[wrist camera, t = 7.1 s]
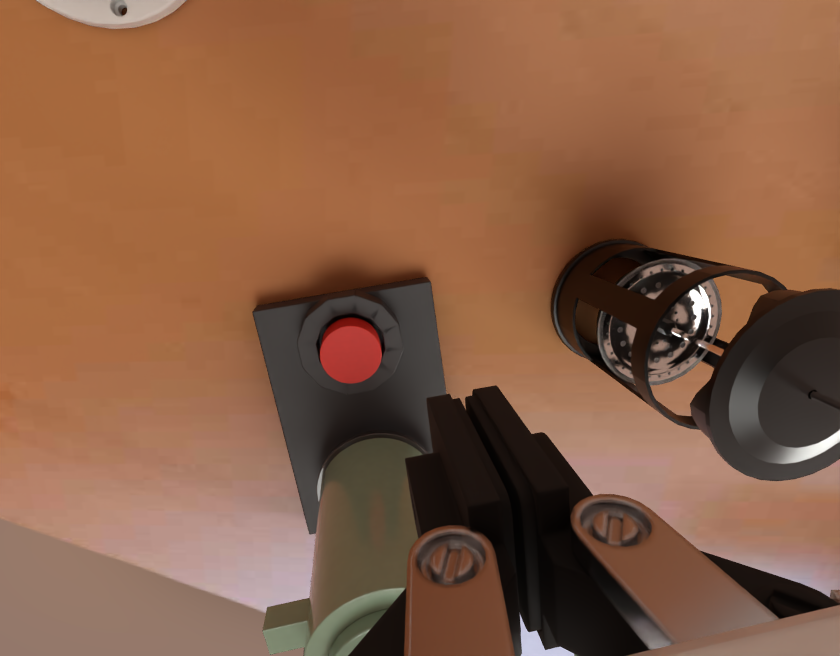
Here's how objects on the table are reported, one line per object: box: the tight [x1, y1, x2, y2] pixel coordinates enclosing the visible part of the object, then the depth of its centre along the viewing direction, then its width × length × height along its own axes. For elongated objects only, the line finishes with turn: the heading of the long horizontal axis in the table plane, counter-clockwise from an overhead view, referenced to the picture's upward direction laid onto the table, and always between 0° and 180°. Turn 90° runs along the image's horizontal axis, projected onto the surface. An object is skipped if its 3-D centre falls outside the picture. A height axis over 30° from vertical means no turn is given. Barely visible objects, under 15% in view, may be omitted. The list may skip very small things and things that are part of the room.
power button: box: [320, 317, 382, 383], centre depth 31 cm, size 4×4×2 cm
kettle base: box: [253, 277, 446, 534], centre depth 35 cm, size 18×12×4 cm, turn 8°
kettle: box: [263, 430, 429, 656], centre depth 28 cm, size 11×10×16 cm
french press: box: [551, 239, 840, 481], centre depth 26 cm, size 12×9×23 cm
